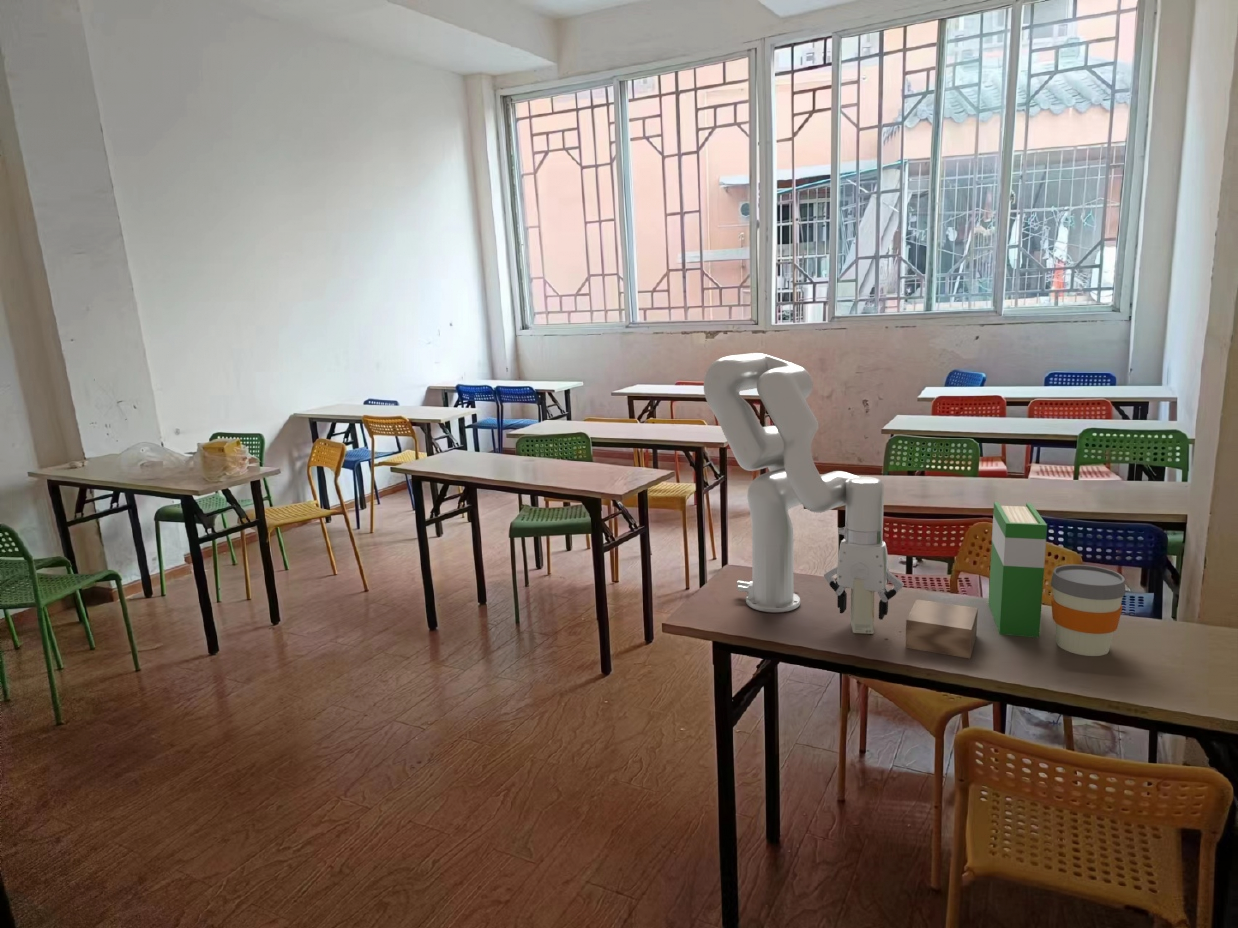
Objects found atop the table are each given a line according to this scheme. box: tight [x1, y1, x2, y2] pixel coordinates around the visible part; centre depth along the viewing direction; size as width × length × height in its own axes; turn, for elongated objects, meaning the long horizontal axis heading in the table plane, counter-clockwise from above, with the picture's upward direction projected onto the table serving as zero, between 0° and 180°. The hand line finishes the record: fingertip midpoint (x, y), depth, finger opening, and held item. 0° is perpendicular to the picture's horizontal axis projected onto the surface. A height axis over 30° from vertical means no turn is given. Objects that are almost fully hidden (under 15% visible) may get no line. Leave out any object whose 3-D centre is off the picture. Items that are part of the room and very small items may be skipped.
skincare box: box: [850, 578, 875, 635], centre depth 164 cm, size 6×4×12 cm
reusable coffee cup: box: [1050, 564, 1126, 657], centre depth 151 cm, size 12×12×15 cm
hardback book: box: [988, 501, 1048, 638], centre depth 165 cm, size 18×7×24 cm, turn 162°
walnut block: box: [905, 598, 979, 660], centre depth 157 cm, size 12×12×6 cm
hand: (862, 613), depth 165 cm, fingers open, 7 cm apart
